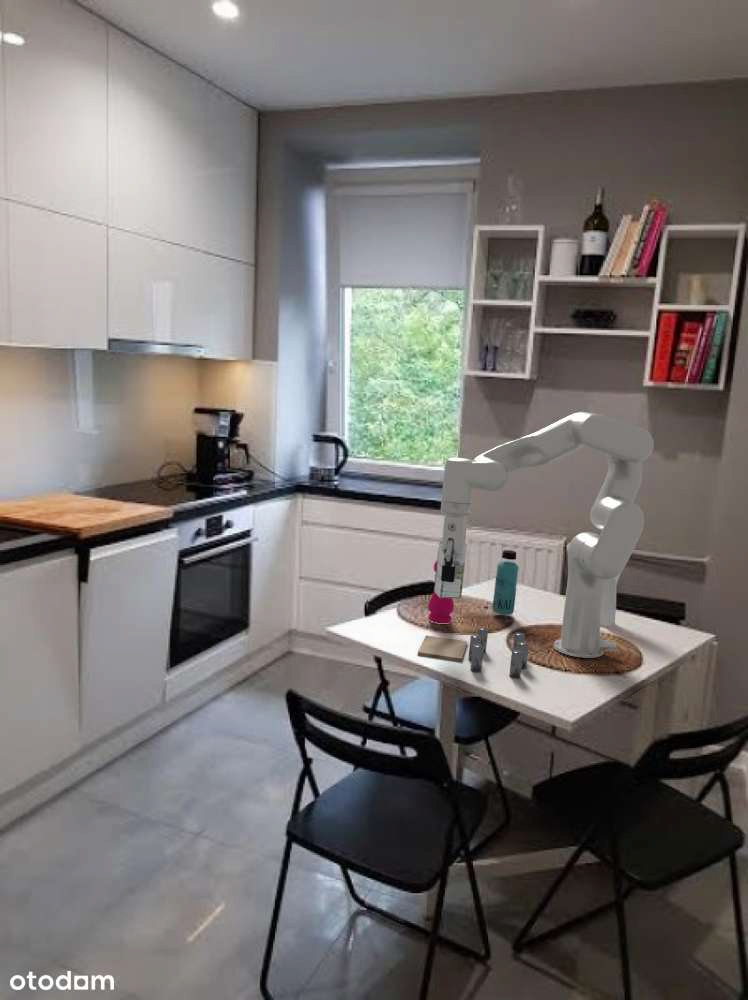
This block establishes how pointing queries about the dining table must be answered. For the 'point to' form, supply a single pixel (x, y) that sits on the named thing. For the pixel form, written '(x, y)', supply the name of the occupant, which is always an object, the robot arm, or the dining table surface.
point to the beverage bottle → (505, 584)
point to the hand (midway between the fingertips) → (449, 577)
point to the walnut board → (442, 648)
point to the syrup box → (455, 587)
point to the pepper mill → (440, 607)
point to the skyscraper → (609, 602)
